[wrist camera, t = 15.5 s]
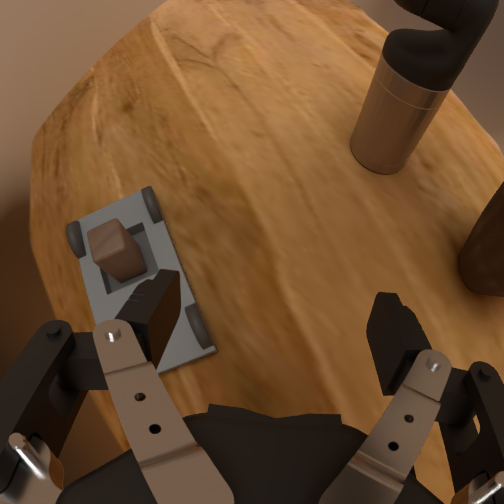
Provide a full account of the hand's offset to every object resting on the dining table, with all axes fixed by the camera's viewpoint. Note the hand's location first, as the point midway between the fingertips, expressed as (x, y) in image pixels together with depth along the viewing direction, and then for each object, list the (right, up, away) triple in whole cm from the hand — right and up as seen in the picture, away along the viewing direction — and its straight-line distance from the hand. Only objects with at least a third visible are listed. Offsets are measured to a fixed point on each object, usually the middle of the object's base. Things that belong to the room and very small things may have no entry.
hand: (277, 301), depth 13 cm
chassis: (-15, -2, +25) cm, 29 cm away
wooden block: (-16, 0, +26) cm, 31 cm away
